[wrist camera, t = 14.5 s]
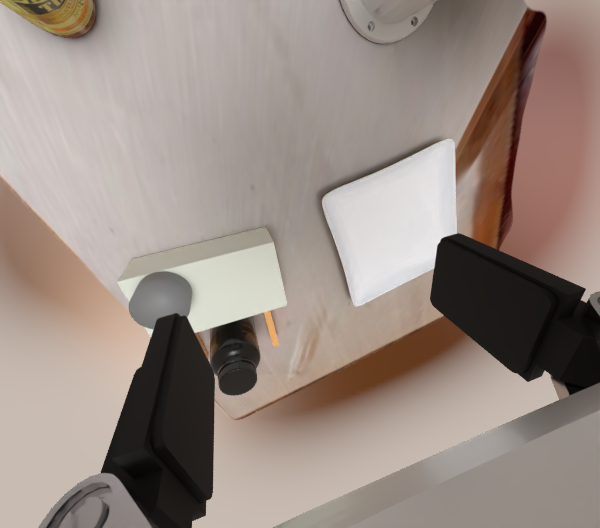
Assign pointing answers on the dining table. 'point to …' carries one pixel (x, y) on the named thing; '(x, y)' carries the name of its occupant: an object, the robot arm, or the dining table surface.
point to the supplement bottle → (235, 355)
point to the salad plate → (393, 220)
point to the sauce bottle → (56, 15)
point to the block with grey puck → (207, 283)
